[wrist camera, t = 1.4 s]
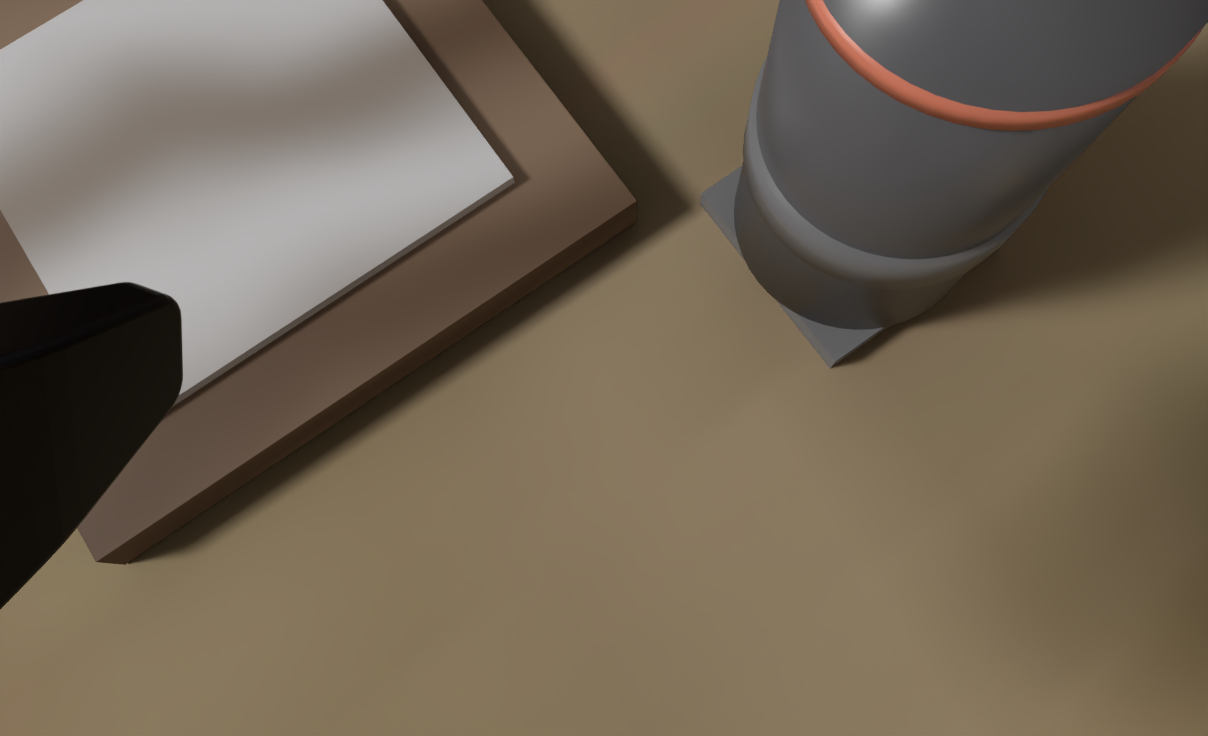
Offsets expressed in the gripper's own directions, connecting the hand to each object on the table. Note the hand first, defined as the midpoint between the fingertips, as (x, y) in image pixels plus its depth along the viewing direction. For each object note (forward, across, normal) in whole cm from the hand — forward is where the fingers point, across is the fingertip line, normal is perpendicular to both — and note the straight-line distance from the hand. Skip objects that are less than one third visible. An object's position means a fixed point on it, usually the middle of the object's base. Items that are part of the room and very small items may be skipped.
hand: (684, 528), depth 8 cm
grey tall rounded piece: (+16, -2, +4) cm, 17 cm away
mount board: (+14, +13, +6) cm, 20 cm away
